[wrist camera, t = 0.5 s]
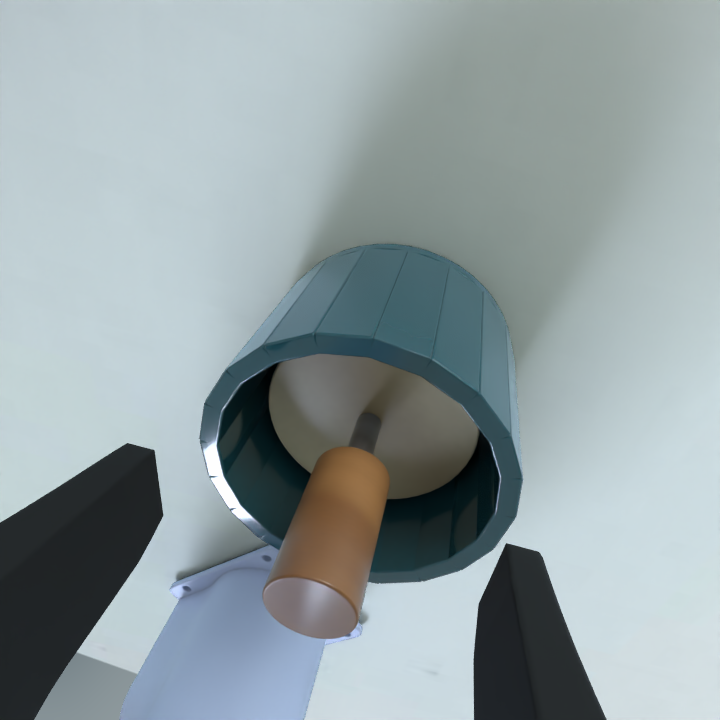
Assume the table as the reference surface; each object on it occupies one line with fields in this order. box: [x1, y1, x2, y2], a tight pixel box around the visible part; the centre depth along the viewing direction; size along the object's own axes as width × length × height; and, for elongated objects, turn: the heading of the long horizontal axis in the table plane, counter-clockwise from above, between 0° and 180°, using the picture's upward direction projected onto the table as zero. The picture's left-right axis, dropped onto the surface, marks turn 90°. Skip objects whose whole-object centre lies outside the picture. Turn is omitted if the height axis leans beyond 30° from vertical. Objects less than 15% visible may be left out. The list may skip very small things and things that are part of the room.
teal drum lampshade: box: [199, 244, 523, 584], centre depth 18 cm, size 9×9×7 cm
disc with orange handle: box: [262, 354, 479, 639], centre depth 15 cm, size 7×7×9 cm
